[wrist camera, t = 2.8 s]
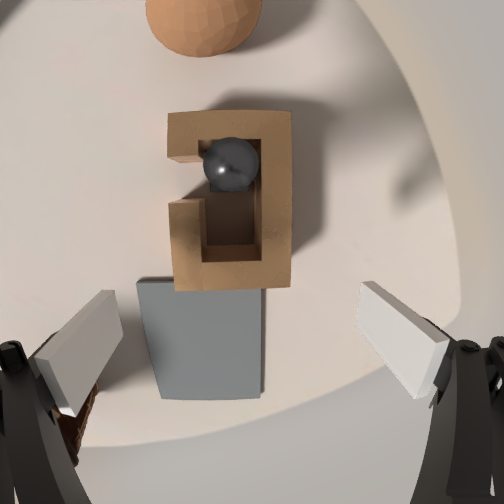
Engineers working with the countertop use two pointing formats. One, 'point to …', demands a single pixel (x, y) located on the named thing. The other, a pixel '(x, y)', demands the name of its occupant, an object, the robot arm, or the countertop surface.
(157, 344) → the mat
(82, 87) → the countertop surface
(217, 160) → the post stand
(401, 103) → the countertop surface
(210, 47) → the egg
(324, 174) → the countertop surface
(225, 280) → the c link
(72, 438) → the coffee cup
